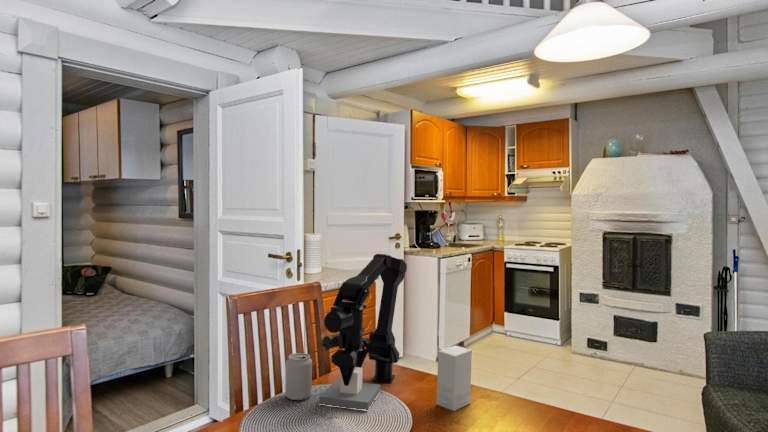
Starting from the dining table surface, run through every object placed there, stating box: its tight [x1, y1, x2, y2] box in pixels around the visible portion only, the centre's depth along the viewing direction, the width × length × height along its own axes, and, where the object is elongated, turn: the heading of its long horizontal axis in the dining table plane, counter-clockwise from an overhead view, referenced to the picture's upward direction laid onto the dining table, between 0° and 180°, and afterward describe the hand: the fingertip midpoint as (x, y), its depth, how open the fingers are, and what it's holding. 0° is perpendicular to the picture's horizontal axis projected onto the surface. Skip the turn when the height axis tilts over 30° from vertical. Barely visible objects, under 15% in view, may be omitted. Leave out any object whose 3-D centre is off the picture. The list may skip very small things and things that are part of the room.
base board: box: [318, 379, 382, 410], centre depth 133 cm, size 14×14×2 cm
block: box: [340, 367, 364, 394], centre depth 133 cm, size 5×5×6 cm
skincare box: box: [436, 345, 473, 412], centre depth 131 cm, size 8×7×16 cm
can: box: [284, 352, 313, 401], centre depth 134 cm, size 8×8×12 cm
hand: (351, 379), depth 133 cm, fingers open, 9 cm apart
